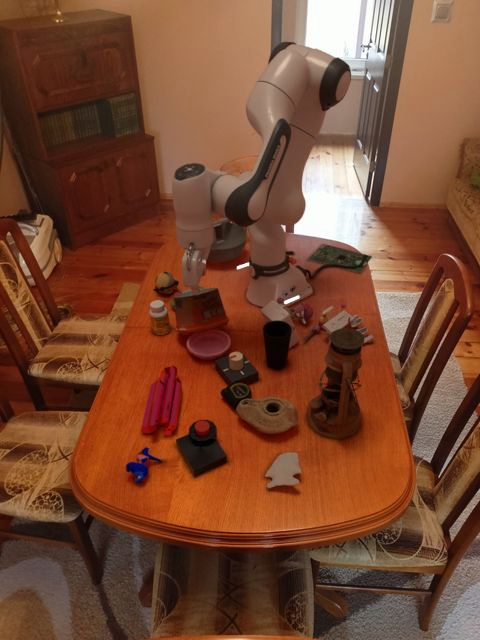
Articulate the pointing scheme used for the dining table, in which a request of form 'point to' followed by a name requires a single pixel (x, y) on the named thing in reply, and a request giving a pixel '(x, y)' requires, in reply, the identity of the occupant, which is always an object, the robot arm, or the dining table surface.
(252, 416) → the oil lamp
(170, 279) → the toy
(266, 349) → the cup
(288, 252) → the knife
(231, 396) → the tape measure
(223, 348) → the saucer
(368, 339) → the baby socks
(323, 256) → the circuit board
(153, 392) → the crystal
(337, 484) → the dining table surface
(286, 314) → the ink box
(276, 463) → the arrowhead
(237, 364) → the dial knob
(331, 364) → the lantern
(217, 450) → the button box
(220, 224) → the toilet paper hanger
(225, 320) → the food container
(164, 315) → the supplement bottle
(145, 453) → the figurine
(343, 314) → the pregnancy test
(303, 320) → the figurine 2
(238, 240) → the bowl
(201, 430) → the red button
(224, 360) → the dial panel
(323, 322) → the candy
